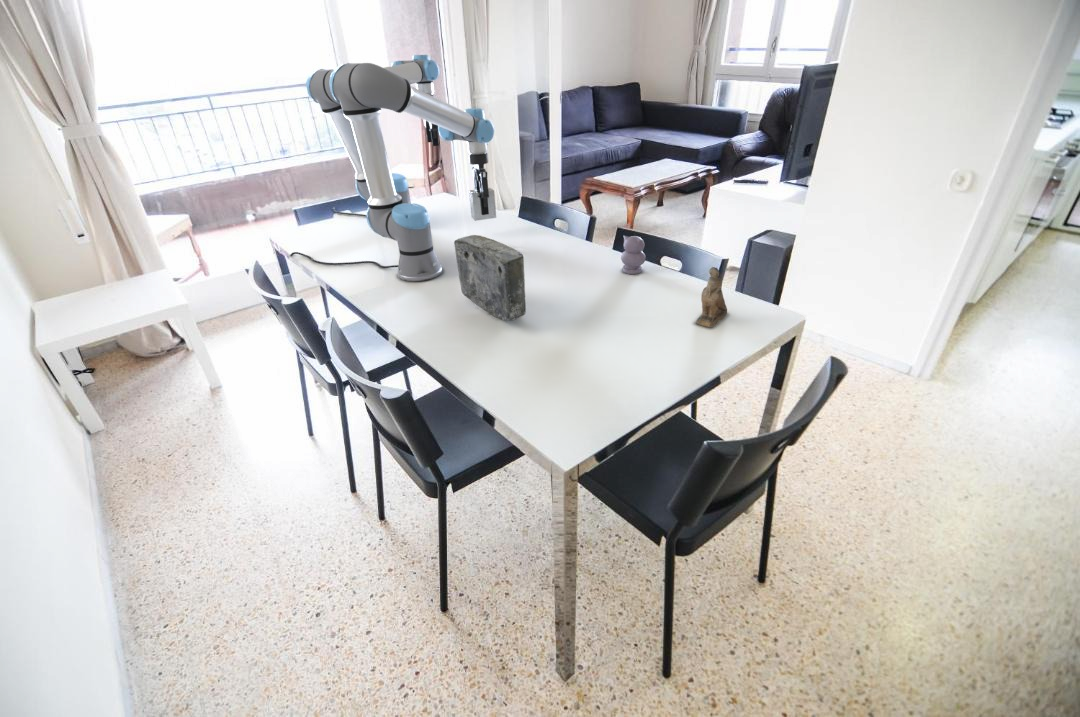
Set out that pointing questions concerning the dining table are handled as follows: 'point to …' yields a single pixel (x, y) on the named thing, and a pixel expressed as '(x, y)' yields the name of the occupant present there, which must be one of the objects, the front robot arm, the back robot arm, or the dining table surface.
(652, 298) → the dining table surface
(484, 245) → the concrete block
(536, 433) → the dining table surface
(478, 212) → the brick
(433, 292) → the dining table surface
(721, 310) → the worn brown figurine
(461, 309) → the dining table surface
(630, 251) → the cat figurine
